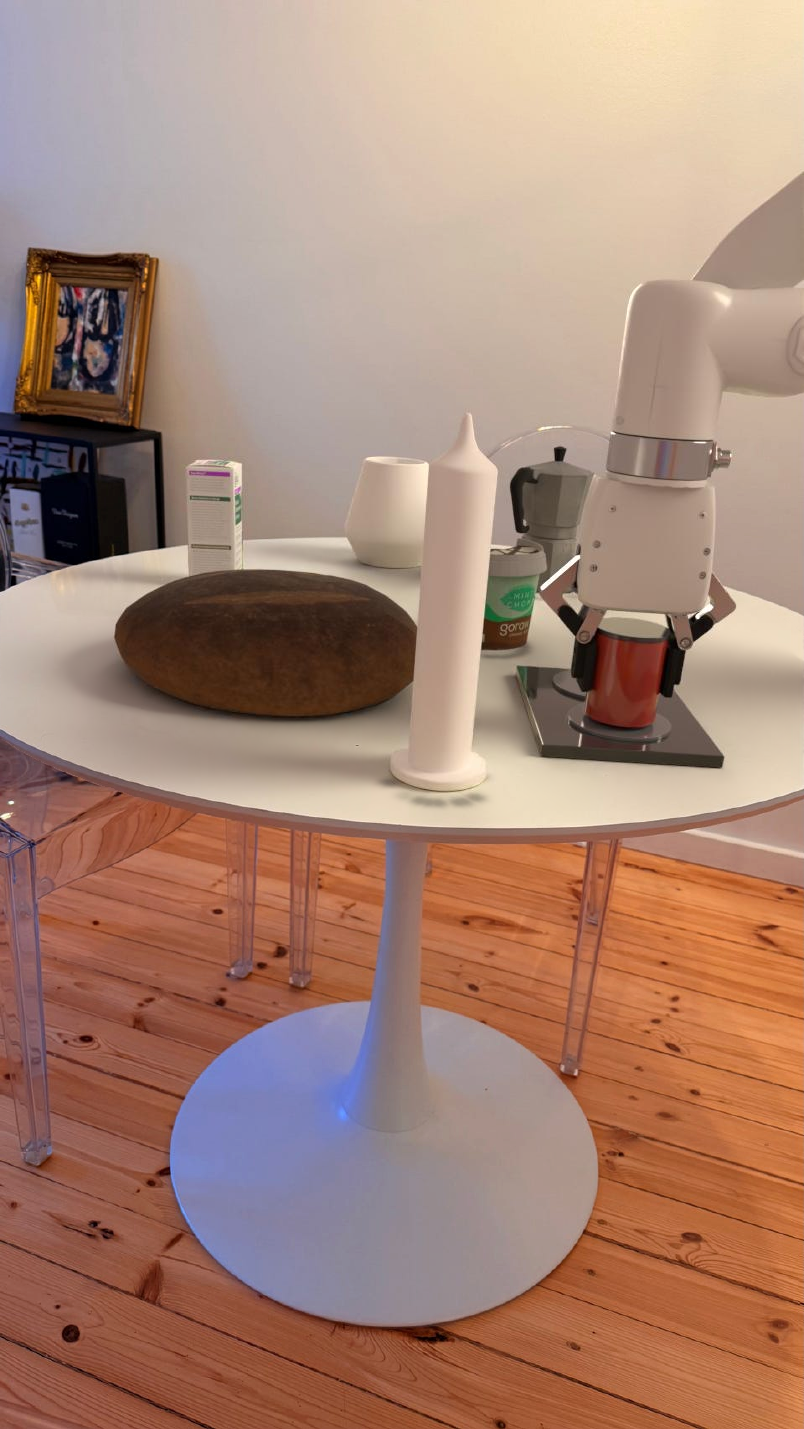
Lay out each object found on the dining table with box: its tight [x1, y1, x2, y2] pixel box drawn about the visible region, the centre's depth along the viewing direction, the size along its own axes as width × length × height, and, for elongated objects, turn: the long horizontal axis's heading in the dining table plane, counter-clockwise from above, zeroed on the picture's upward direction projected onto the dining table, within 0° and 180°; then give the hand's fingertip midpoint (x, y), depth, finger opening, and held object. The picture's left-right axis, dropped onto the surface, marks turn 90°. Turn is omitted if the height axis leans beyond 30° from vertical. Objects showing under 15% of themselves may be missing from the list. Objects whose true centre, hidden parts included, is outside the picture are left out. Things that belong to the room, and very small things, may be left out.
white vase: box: [344, 456, 430, 569], centre depth 138 cm, size 13×13×14 cm
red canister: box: [584, 616, 671, 727], centre depth 80 cm, size 6×6×7 cm
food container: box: [481, 537, 547, 651], centre depth 103 cm, size 12×6×10 cm, turn 143°
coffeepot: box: [509, 445, 595, 594], centre depth 128 cm, size 15×9×18 cm, turn 134°
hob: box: [515, 665, 725, 769], centre depth 85 cm, size 14×20×1 cm
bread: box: [113, 568, 417, 717], centre depth 90 cm, size 28×27×9 cm
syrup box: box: [185, 459, 244, 576], centre depth 119 cm, size 6×6×14 cm
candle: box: [389, 412, 499, 792], centre depth 67 cm, size 7×7×25 cm
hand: (623, 687), depth 80 cm, fingers closed on red canister, 5 cm apart
